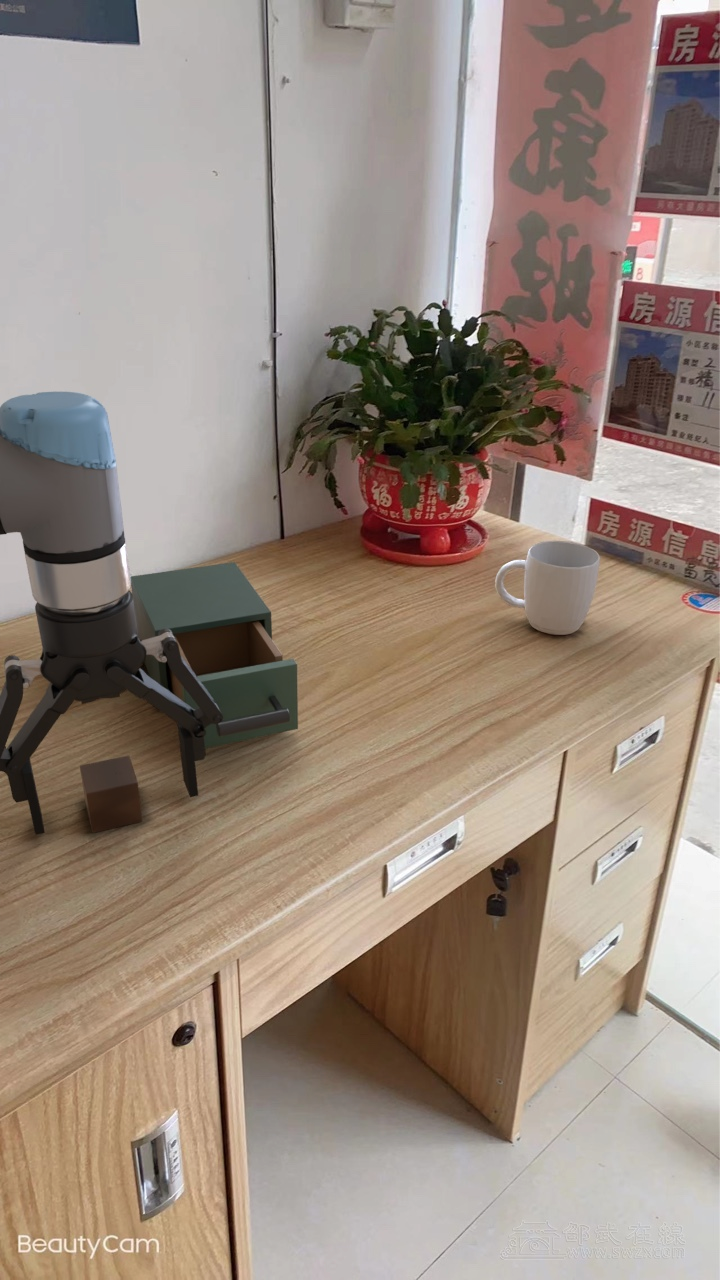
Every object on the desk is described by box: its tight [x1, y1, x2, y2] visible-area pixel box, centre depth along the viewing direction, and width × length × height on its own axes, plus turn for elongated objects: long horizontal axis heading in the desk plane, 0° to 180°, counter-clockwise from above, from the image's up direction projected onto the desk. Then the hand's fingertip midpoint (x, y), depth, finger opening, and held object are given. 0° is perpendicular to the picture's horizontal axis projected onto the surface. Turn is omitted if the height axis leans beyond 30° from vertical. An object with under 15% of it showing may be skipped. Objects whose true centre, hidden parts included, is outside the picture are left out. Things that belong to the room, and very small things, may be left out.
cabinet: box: [130, 561, 273, 693], centre depth 102 cm, size 15×13×10 cm
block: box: [79, 755, 143, 834], centre depth 79 cm, size 4×4×4 cm
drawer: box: [166, 620, 299, 750], centre depth 91 cm, size 18×11×8 cm, turn 23°
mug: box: [494, 540, 601, 636], centre depth 114 cm, size 13×9×10 cm
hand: (117, 806), depth 80 cm, fingers open, 13 cm apart
